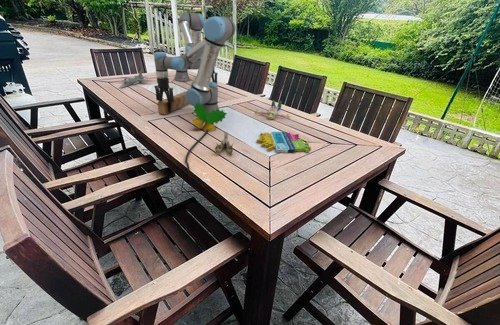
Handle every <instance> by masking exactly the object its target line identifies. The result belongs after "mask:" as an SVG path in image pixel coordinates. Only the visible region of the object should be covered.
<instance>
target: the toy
mask: <svg viewBox="0 0 500 325" xmlns="http://www.w3.org/2000/svg"><path fill="white" fill-rule="evenodd" d="M270 106H271V108H270V109H268V111H258V109H256V110H253V112H254V114H257V115H258V114H261V115H266V116H265V118H266V119H268V120H276V117H280V118H287V119H290V118H292V115H290V114H288V113H287V115H284V114H282V113H278V110H281V109H282V100H279V102H278V104H277V105H276V101H275V99H272V101H271V105H270Z"/></svg>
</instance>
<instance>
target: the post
mask: <svg viewBox="0 0 500 325" xmlns="http://www.w3.org/2000/svg"><path fill="white" fill-rule="evenodd" d="M186 92H187V90H185V91H182V92H180V93H178V94H175V95H173V97H174V102H172V107H171V110H172V111H171V112H174V111H176V110H178V109H180V108H183V107H184V106H187V105H190V104H189V103H188V101H187V99H186ZM167 103H168V100H167V98H165V99H162V101H157V110H158V114H160V115H167V114H169V113H171V112H168V104H167Z"/></svg>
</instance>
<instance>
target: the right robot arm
mask: <svg viewBox="0 0 500 325" xmlns="http://www.w3.org/2000/svg"><path fill="white" fill-rule="evenodd" d="M202 31H203V35H204V37H203V39H202V40H200V42H199V43H198V44H197V45H196V46H194V47H193V48H192V49H190V50H189V51H188V52H187V53H186V52H185V53H184V54H183V55H178V56H167V53H166V52H163V51H156V52H154V53H153V56H154V57H153V60H154V67H155V75H156V82H157V85H154V91H155V99H156V101H157V102H159V101H162V100H164V99H163V98H164V94H165V97H166V99H167V100H168V103H167V104H168V112H170V113H171V111H172V110H171V107H172V102H174V97H173V96H174V87H171V86H170V85H169V84H170V78H169V70H172V71H176V70H182V69H183V68H185V67H190V66H192V65H193V64H194V62H195V61H197V60H198V59H199V58H201V62H200V66H199V69H197V73H196V77H195V80H193V81H192V82H191V85H190V87H189V88H188V89H187V90H186V91H187V92H186V99H187V101H188V103H189V104H188V105H190V106H192V107H194V106H196V102H197V103H198V104H201V106H204V109H206V112H208V113H211V112H212V110H214V111H216V110H217V109H219V111H221V110H220V108H219V102H218V99H219V98H218V97H219V87H218V82H217V83H215V82H212V81H211V80H212V78H211V76H212V73H213V70H214V71H215V69H214V67H215V66H216V63H217V60H218V57H219V54H220V51H221V49H223V48H224V47H225V44H226V42H228V41H230V40H231V39H232V38H233V37H234V35H235V32H236V24H235V22H234V21H233V20H232V18H230V17H228V16H218V15H217V16H216V15H214V16H211V17H209V18H207V19H206V20H205V21H204V27H203V28H202ZM215 68H216V67H215ZM172 112H173V111H172ZM208 113H207V115H208ZM208 132H209V131H208V129H207V131H206V130H205V132H204V133H203V135H202V136H201V137H200V138H198V140H196V141H195V143H193V145H192V146H191V147H190V149H189V150H188V152H187V153H186V155H185V161H184V162H185V164H186V167H187V168H186V169H187V172H190V164H189V161H188V157H189V155H190V153H191V152H192V150H193V149H194V147H195V146H196V145H197V144H198V143H199V142H200V141H201V140H202V139H203V138H204V137H205V136H206V135H207V134H208Z"/></svg>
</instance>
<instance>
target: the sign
mask: <svg viewBox="0 0 500 325" xmlns="http://www.w3.org/2000/svg"><path fill="white" fill-rule="evenodd" d="M299 136H300V135H299V134H298V133H296V134H294V133H291V132H287V131H270V132H264V133H263V132H260V133H259V139H258V138H257V139H256V143H257V144H261V148H263V147H264V148H265V149H267V151H268V152H271V151H272V150H273V149H275V152H276V153H283V154H285V153H287V154H288V153H290V154H293V153H296V152H298V153H301V152H305V153H310V151H311V150H312V149H311V148H312V146H309V142H304V141H303V139H302V138H299Z"/></svg>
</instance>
